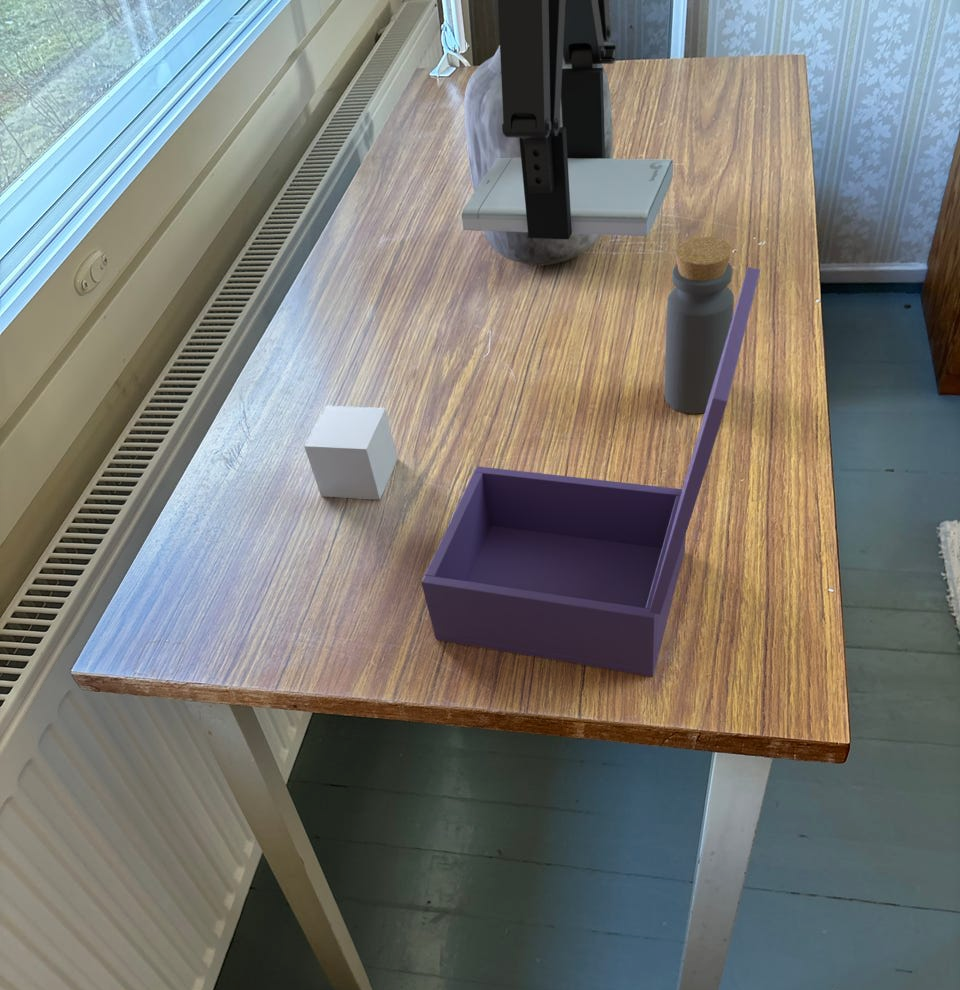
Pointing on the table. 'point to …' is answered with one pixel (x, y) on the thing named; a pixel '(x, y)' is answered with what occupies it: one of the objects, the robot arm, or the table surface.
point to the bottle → (697, 322)
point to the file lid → (706, 437)
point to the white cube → (352, 452)
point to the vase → (492, 144)
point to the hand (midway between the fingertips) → (568, 202)
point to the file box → (555, 569)
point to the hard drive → (577, 196)
